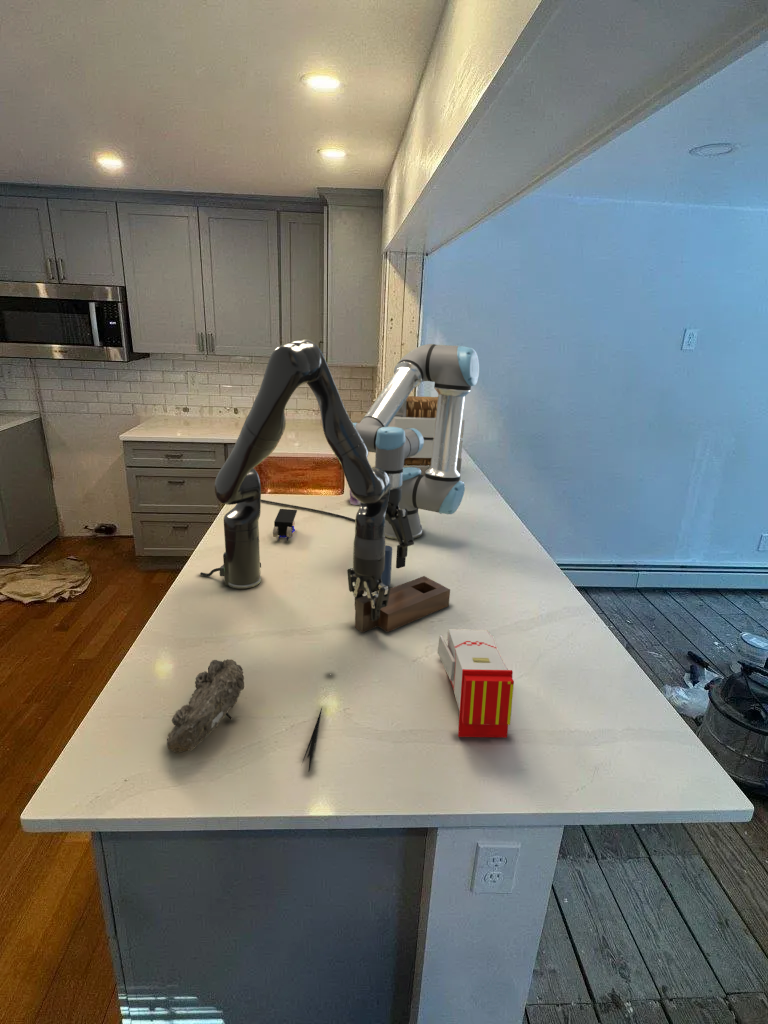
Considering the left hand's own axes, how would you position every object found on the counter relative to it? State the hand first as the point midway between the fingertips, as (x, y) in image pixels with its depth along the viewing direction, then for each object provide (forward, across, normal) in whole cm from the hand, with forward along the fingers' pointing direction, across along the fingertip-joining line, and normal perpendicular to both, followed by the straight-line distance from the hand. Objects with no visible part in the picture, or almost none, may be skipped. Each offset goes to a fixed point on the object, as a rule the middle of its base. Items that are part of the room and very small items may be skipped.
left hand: (366, 614), depth 140 cm
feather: (+3, +21, -28) cm, 35 cm away
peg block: (+3, 0, +11) cm, 12 cm away
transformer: (+3, -94, +109) cm, 144 cm away
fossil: (+3, +8, -44) cm, 45 cm away
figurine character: (+3, -62, +14) cm, 64 cm away
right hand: (-5, -14, +17) cm, 23 cm away
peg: (+3, -14, +18) cm, 23 cm away
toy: (+3, +33, +1) cm, 33 cm away
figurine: (+3, -76, +58) cm, 95 cm away
